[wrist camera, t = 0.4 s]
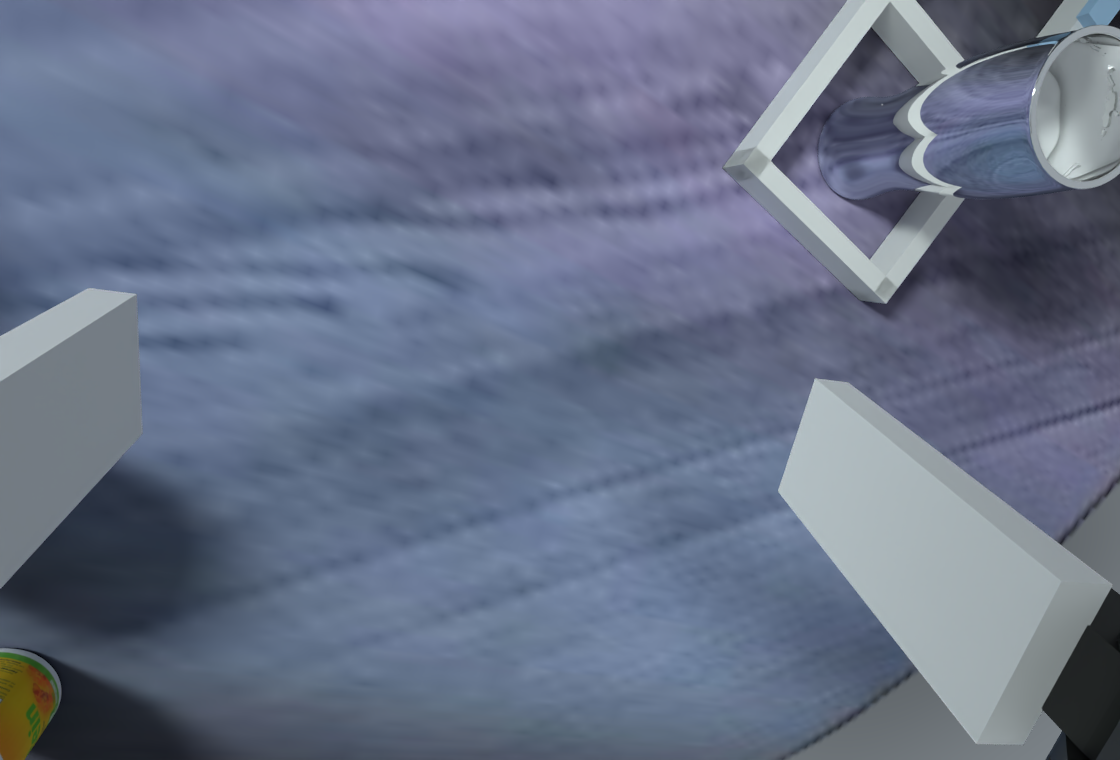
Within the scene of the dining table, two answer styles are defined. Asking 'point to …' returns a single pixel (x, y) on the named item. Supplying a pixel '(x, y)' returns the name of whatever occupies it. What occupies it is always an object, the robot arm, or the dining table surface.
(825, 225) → the frame
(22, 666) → the supplement bottle
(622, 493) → the dining table surface
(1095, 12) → the light blue bracket
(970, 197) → the beer glass
